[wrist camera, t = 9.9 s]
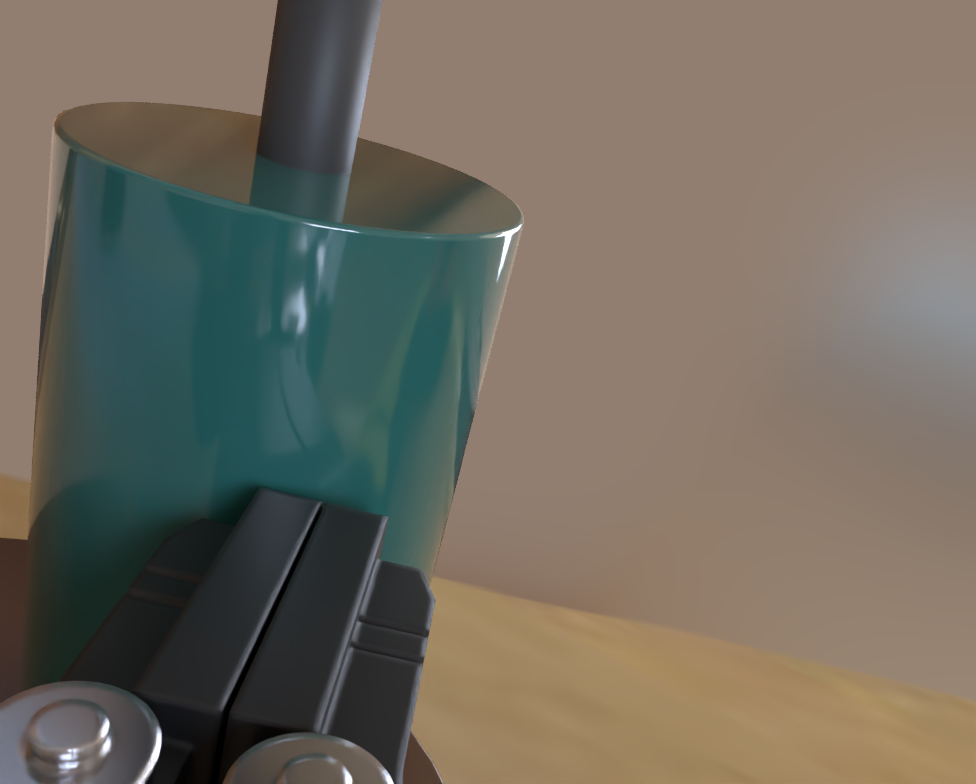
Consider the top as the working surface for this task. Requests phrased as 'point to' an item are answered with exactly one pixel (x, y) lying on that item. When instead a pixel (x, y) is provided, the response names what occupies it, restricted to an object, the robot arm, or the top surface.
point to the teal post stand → (246, 332)
